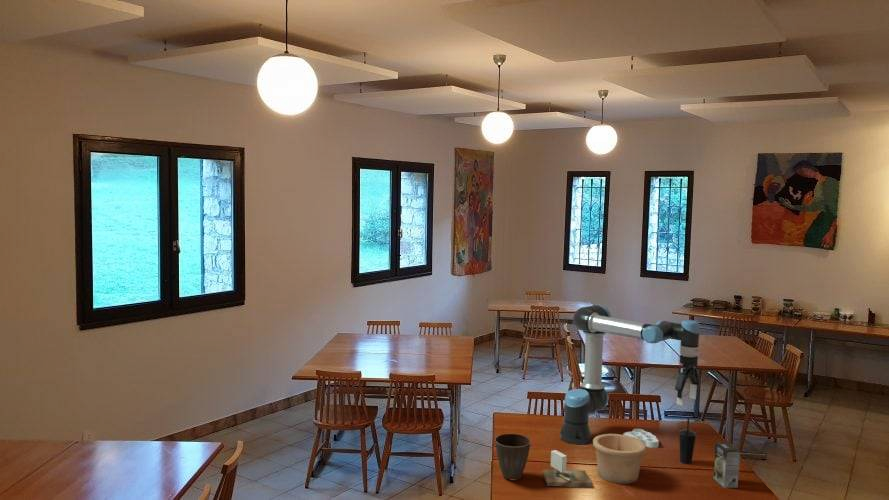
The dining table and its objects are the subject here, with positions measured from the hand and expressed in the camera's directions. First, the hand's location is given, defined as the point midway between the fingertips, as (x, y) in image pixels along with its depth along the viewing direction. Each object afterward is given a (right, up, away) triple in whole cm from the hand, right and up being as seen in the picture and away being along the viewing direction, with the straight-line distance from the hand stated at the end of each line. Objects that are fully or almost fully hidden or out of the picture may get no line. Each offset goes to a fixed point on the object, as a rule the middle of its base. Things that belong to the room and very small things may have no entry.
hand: (686, 401), depth 292 cm
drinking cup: (0, -28, +2) cm, 28 cm away
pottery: (-35, -28, -14) cm, 47 cm away
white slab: (-60, -26, -22) cm, 69 cm away
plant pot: (-81, -28, -19) cm, 87 cm away
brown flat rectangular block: (-58, -28, -21) cm, 68 cm away
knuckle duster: (-12, -26, +26) cm, 39 cm away
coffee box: (+9, -30, -19) cm, 37 cm away
